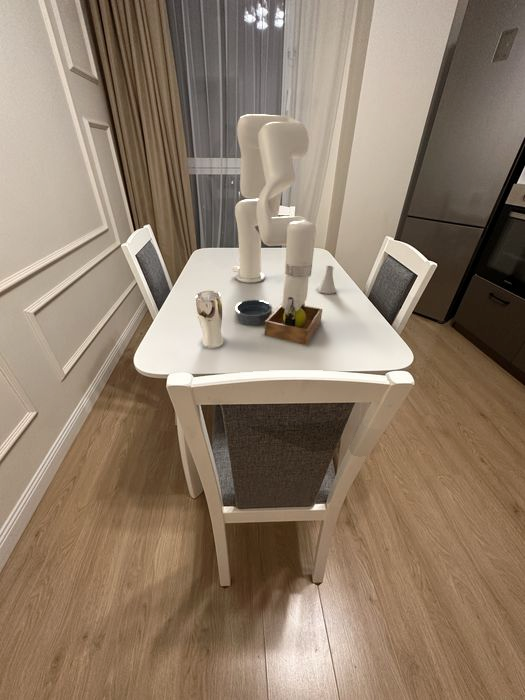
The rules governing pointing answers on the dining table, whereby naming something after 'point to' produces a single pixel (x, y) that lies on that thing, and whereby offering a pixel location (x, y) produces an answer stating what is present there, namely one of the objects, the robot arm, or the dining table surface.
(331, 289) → the flask
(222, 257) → the dining table surface
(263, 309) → the bowl
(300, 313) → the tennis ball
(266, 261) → the dining table surface
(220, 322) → the beer glass
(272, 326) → the wooden box
